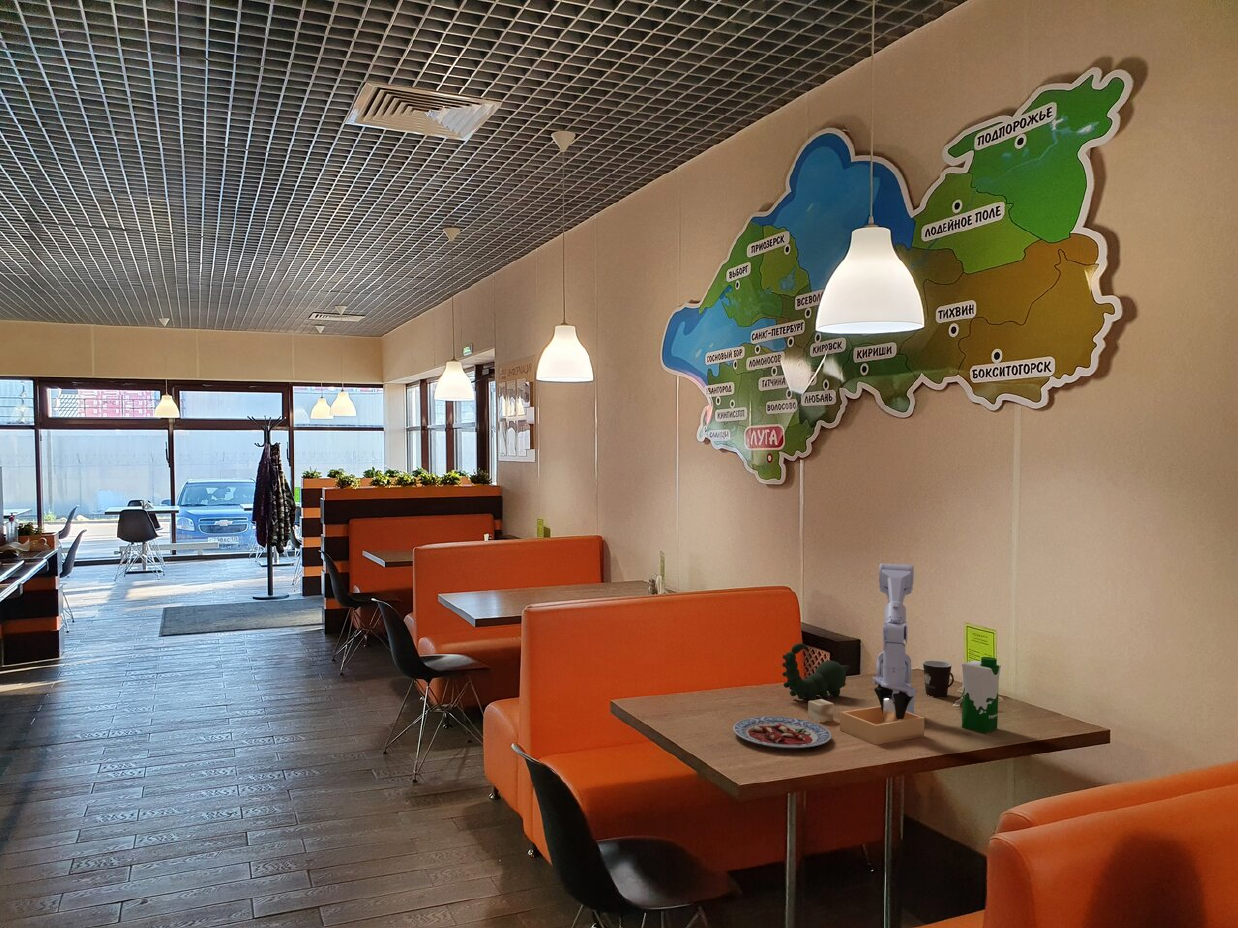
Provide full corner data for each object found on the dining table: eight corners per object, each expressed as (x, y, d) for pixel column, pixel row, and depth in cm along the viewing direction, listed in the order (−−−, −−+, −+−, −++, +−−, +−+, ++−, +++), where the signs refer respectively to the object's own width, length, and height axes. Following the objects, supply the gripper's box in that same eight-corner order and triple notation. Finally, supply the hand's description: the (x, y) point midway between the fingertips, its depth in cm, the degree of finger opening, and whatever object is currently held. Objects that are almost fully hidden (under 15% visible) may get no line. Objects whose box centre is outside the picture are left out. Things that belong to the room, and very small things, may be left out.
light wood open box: (887, 722, 258) (887, 704, 258) (923, 735, 246) (924, 717, 246) (839, 729, 250) (840, 711, 250) (875, 744, 238) (875, 725, 238)
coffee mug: (919, 690, 294) (920, 659, 293) (947, 692, 292) (948, 661, 292) (926, 700, 282) (927, 668, 282) (955, 702, 281) (956, 669, 281)
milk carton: (988, 734, 248) (990, 662, 248) (956, 727, 255) (958, 656, 254) (1002, 728, 254) (1003, 657, 254) (970, 721, 261) (972, 652, 260)
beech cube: (821, 716, 263) (821, 699, 263) (833, 720, 259) (833, 703, 259) (807, 718, 261) (808, 700, 261) (819, 723, 256) (819, 705, 256)
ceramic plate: (756, 758, 226) (756, 746, 226) (718, 727, 251) (718, 716, 251) (849, 751, 233) (849, 739, 233) (803, 721, 258) (803, 711, 258)
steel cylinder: (892, 719, 253) (893, 694, 253) (905, 724, 249) (906, 699, 248) (878, 721, 251) (879, 696, 251) (891, 727, 246) (892, 701, 246)
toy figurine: (797, 711, 273) (860, 695, 284) (794, 649, 272) (858, 635, 283) (778, 703, 281) (840, 687, 293) (775, 643, 280) (837, 630, 292)
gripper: (864, 662, 254) (863, 710, 254) (903, 674, 241) (901, 724, 242) (883, 660, 257) (882, 707, 258) (922, 671, 245) (920, 721, 245)
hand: (892, 715), depth 250 cm, fingers closed on steel cylinder, 5 cm apart
